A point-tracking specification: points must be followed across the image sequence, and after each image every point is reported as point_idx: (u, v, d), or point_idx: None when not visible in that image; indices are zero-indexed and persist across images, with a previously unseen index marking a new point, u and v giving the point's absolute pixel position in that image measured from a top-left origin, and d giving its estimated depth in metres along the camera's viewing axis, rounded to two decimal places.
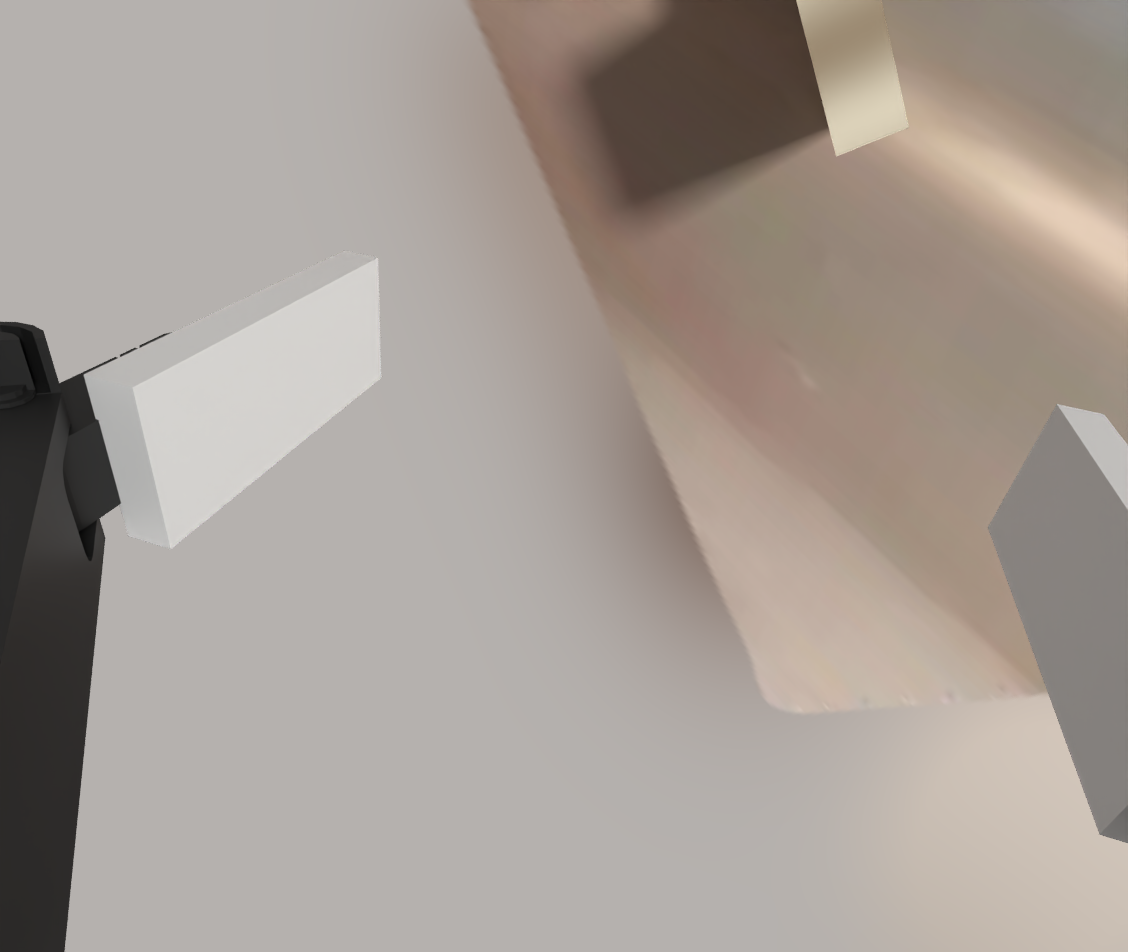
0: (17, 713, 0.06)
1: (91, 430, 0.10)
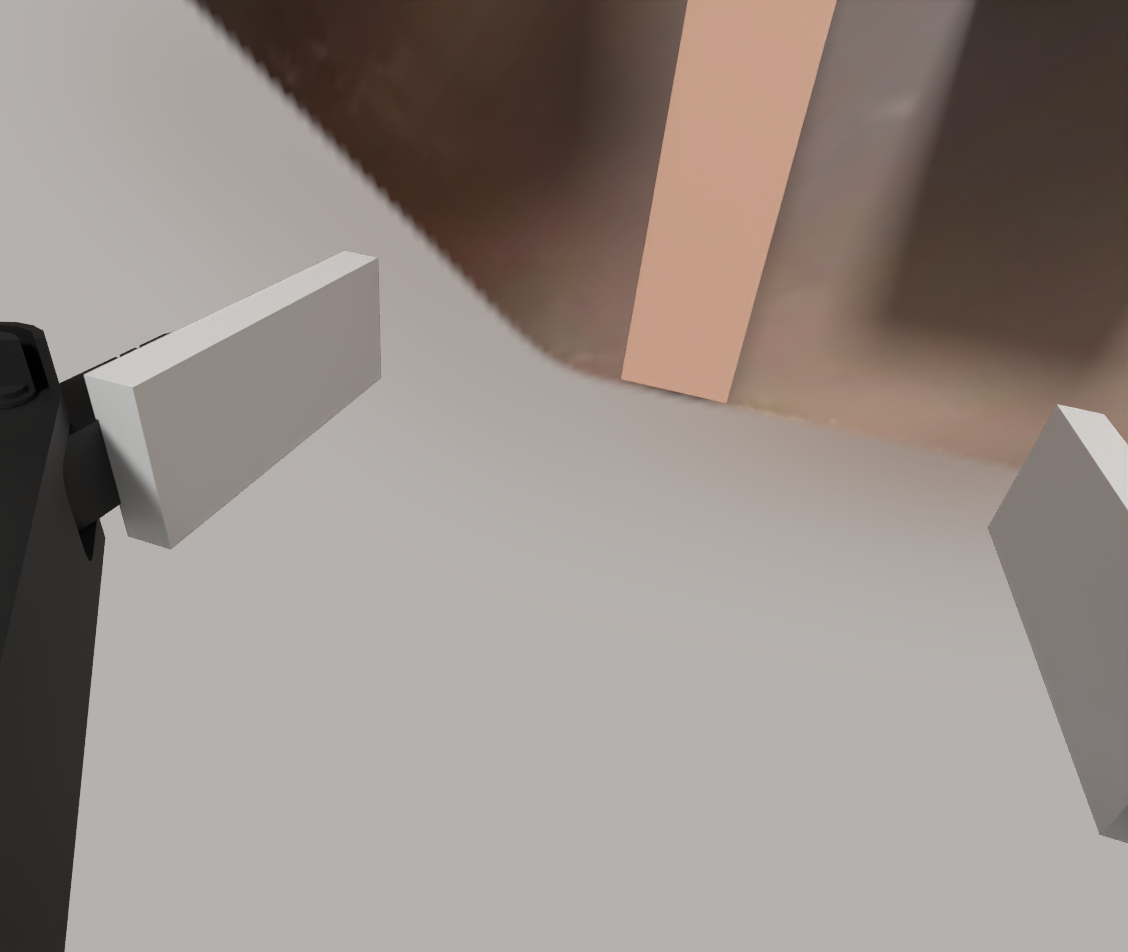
0: (17, 713, 0.06)
1: (92, 430, 0.10)
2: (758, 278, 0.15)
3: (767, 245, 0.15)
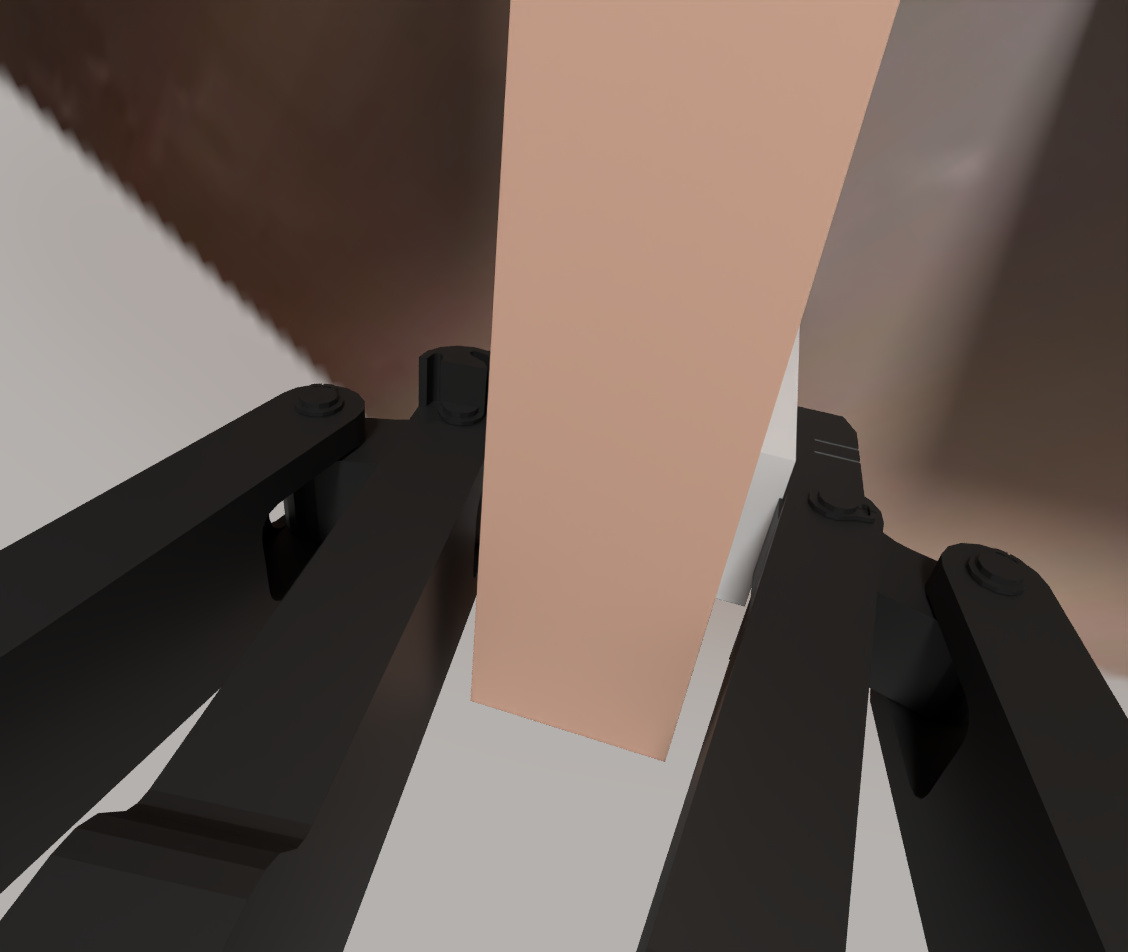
0: (375, 734, 0.06)
1: None
2: (716, 578, 0.07)
3: (733, 522, 0.07)
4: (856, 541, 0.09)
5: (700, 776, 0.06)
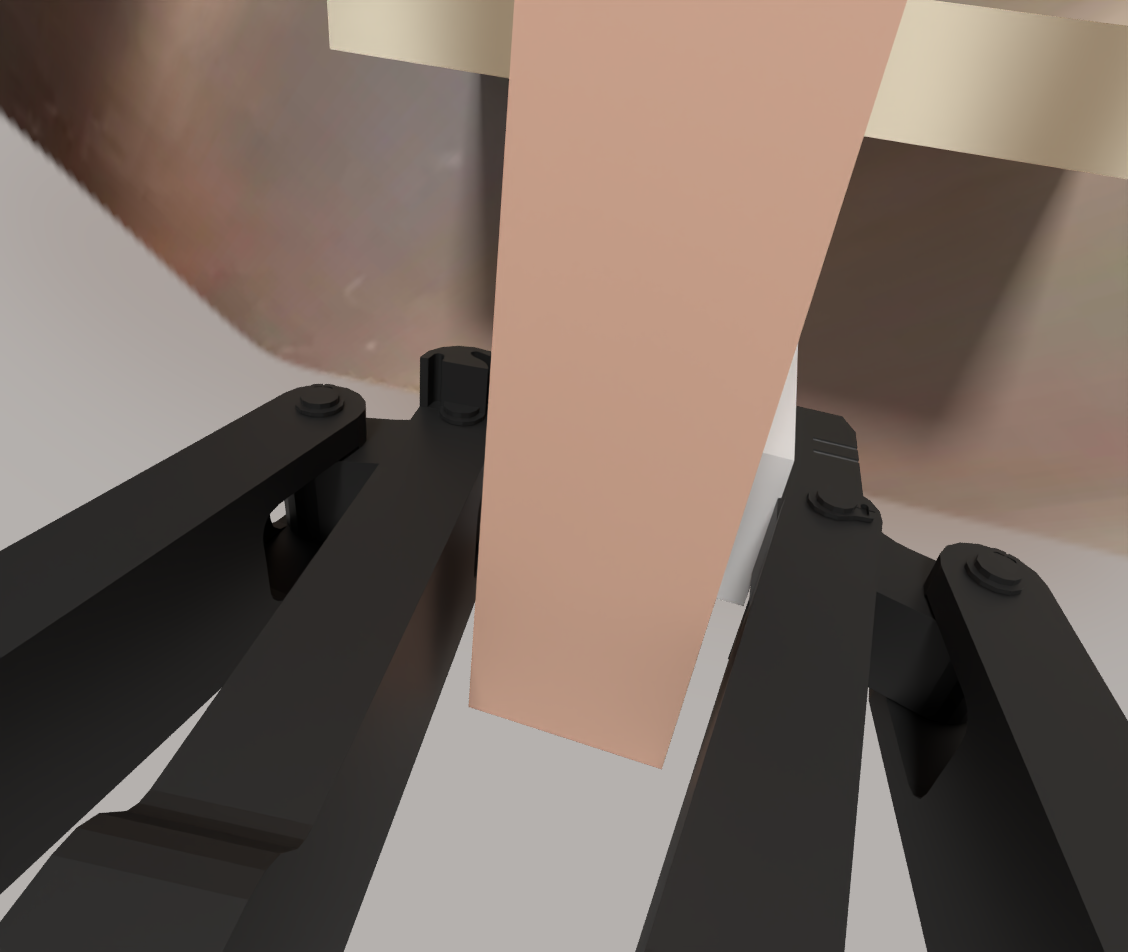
0: (375, 733, 0.06)
1: None
2: (714, 588, 0.07)
3: (731, 533, 0.07)
4: (855, 541, 0.09)
5: (699, 776, 0.06)
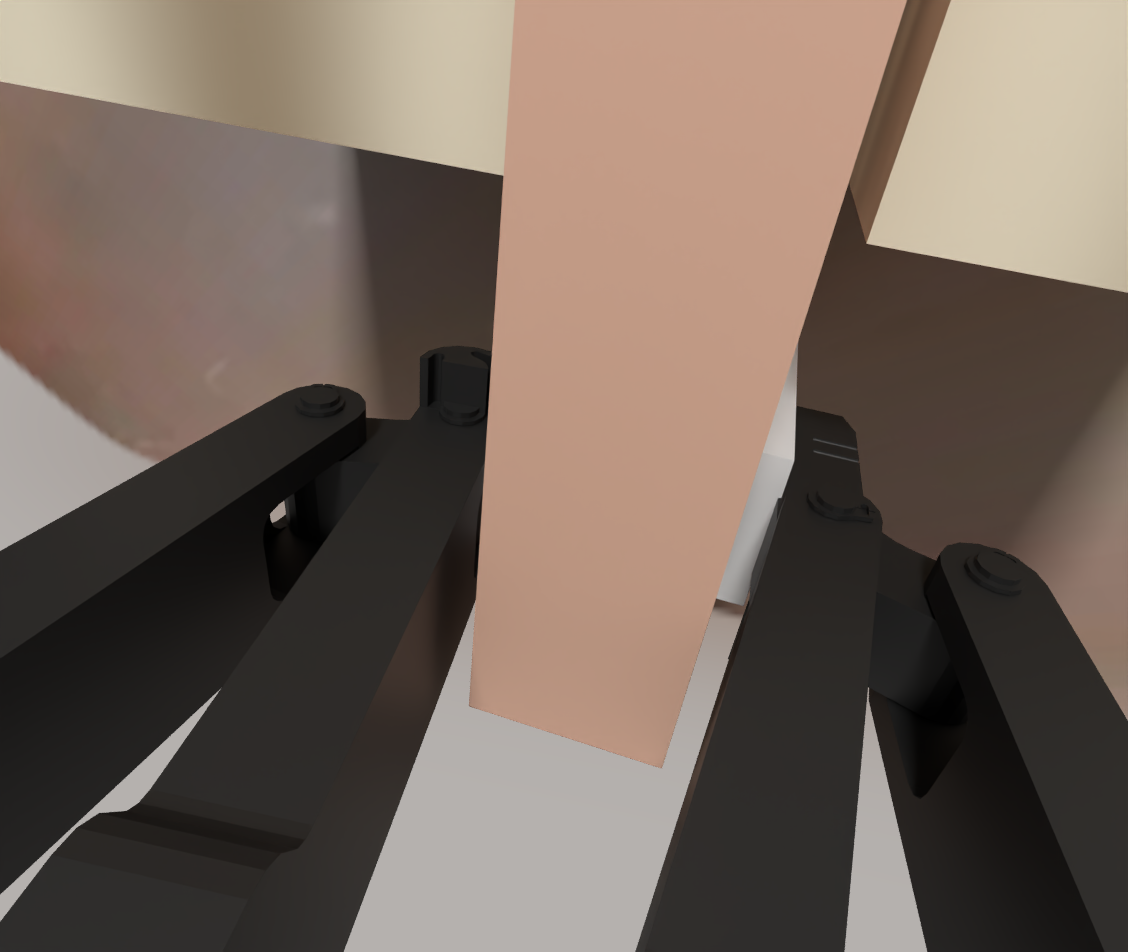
0: (375, 734, 0.06)
1: None
2: (714, 588, 0.07)
3: (731, 532, 0.07)
4: (855, 541, 0.09)
5: (699, 776, 0.06)
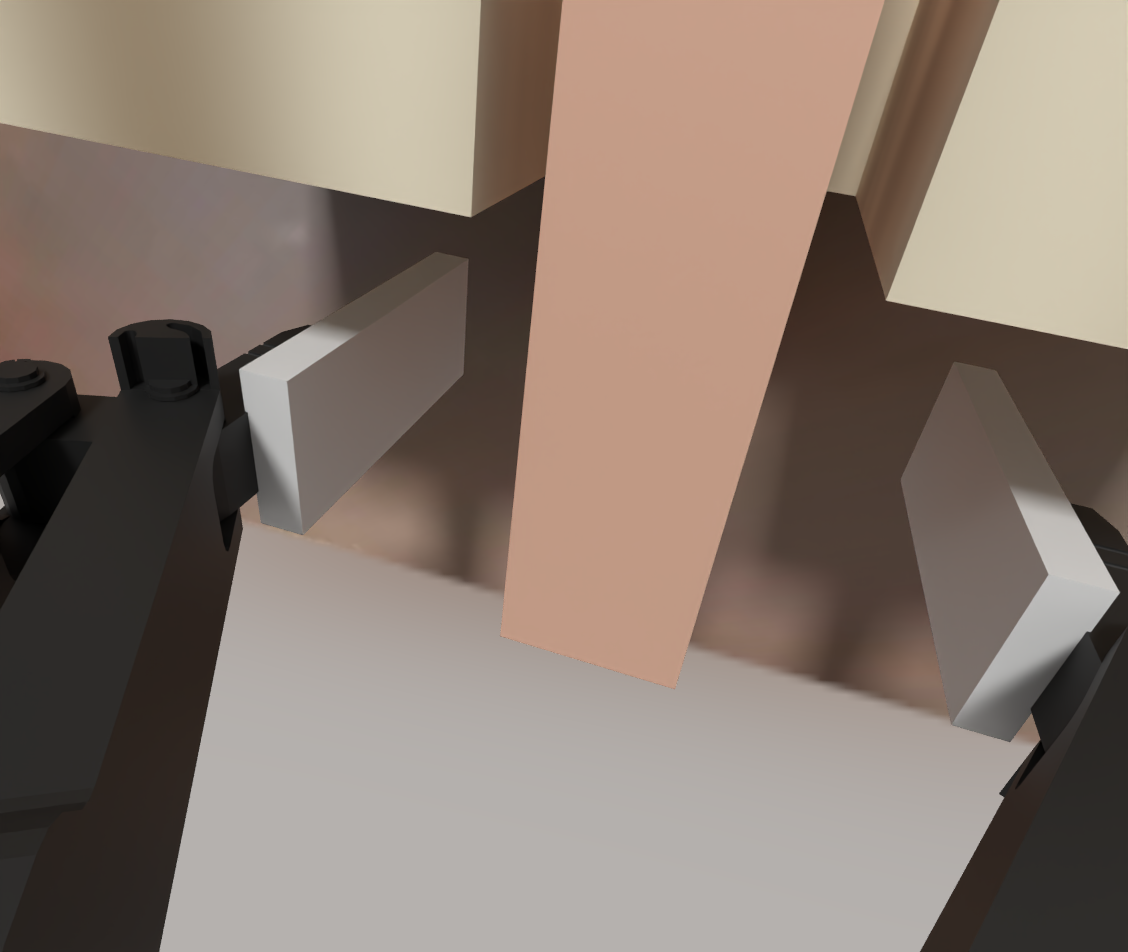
0: (145, 701, 0.06)
1: (242, 421, 0.10)
2: (724, 513, 0.08)
3: (739, 462, 0.08)
4: None
5: (982, 924, 0.05)
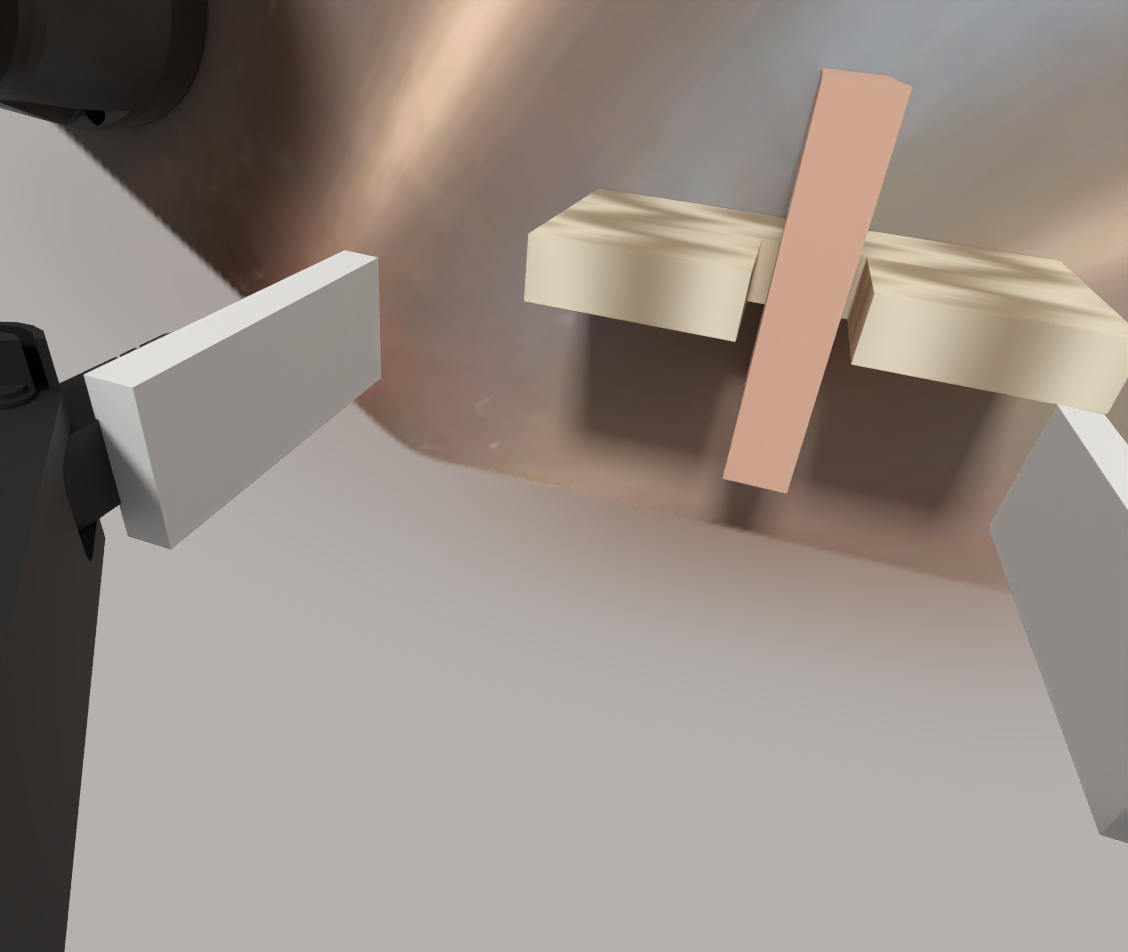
0: (16, 713, 0.06)
1: (91, 430, 0.10)
2: (806, 426, 0.26)
3: (811, 410, 0.26)
4: None
5: None
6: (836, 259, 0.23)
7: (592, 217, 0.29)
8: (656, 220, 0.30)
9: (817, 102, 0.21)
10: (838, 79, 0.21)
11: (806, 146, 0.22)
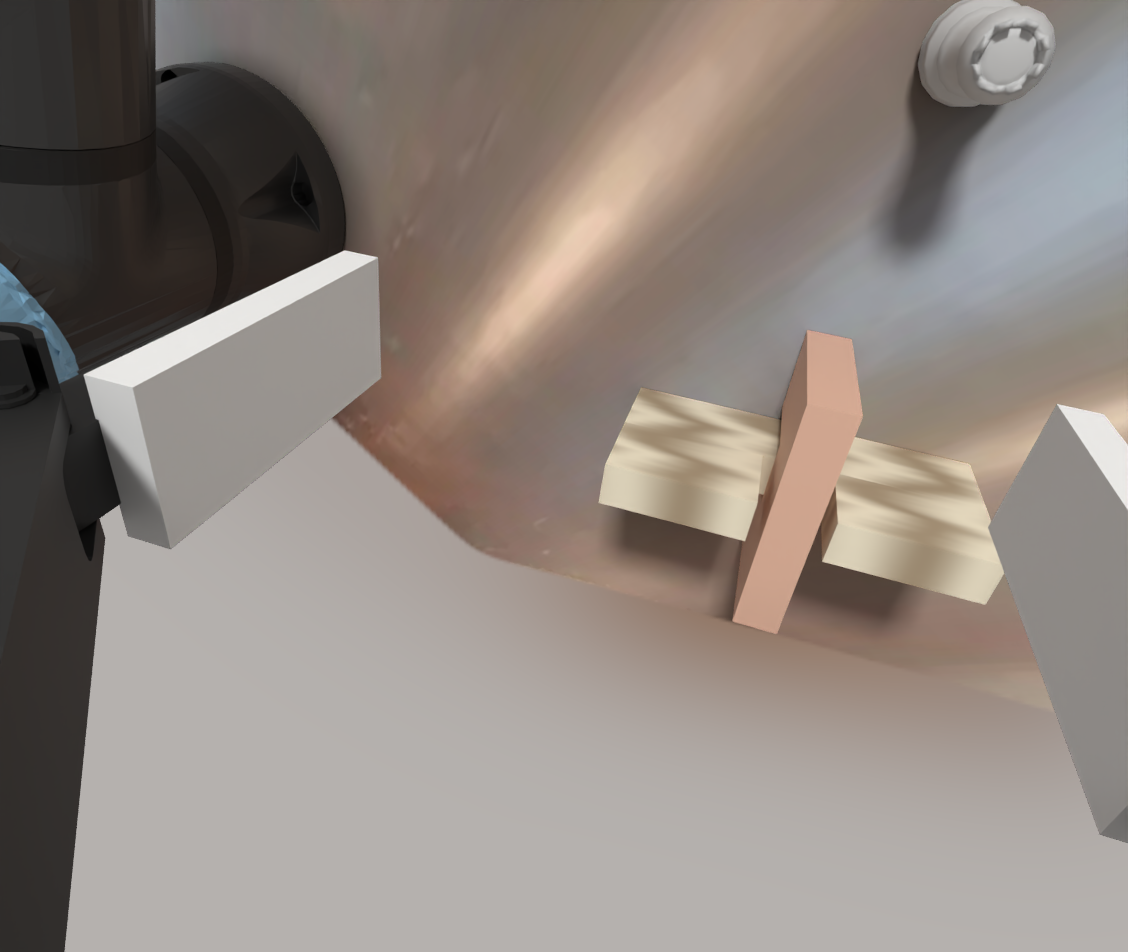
0: (17, 711, 0.06)
1: (91, 430, 0.10)
2: (791, 595, 0.39)
3: (794, 585, 0.38)
4: None
5: None
6: (813, 502, 0.36)
7: (643, 435, 0.41)
8: (688, 434, 0.42)
9: (803, 416, 0.34)
10: (817, 406, 0.33)
11: (796, 438, 0.34)
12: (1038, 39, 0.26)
